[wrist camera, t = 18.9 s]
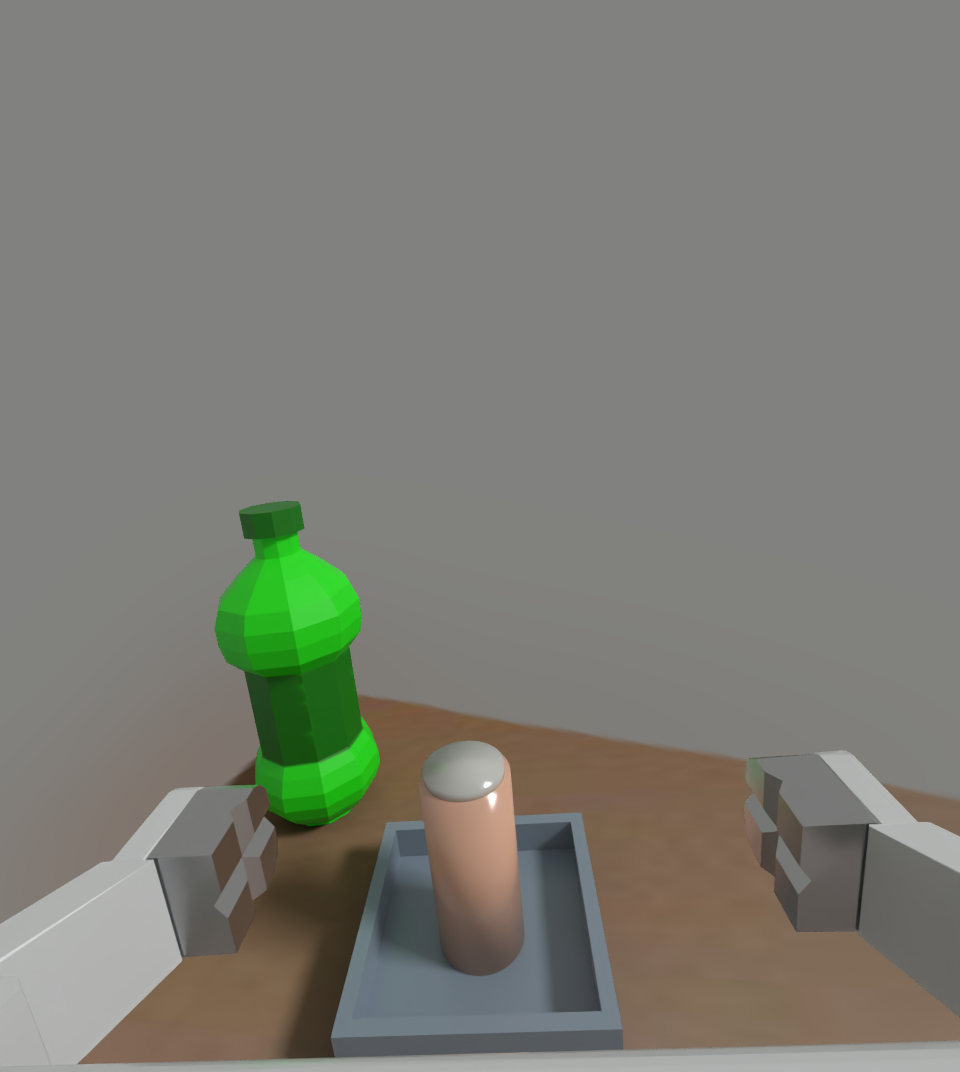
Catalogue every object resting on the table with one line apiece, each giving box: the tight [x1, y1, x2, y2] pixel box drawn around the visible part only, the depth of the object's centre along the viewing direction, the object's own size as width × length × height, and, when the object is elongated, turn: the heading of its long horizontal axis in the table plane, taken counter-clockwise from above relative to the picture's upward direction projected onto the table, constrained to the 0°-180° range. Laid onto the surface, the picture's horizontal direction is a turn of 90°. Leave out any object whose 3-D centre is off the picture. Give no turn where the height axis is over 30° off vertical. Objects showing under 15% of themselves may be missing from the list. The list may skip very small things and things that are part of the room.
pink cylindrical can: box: [418, 741, 525, 976], centre depth 32 cm, size 5×5×12 cm
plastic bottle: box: [215, 501, 380, 826], centre depth 44 cm, size 10×10×25 cm
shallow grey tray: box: [331, 813, 623, 1057], centre depth 33 cm, size 14×14×3 cm
